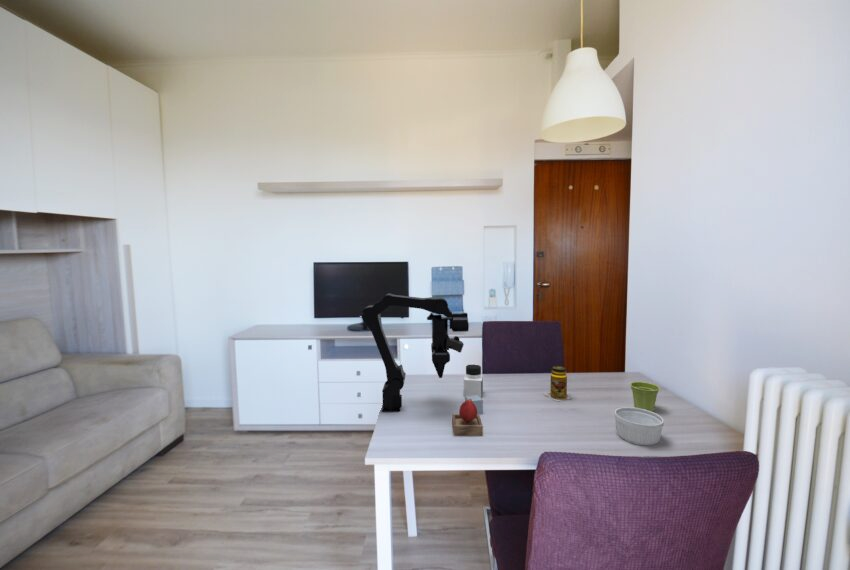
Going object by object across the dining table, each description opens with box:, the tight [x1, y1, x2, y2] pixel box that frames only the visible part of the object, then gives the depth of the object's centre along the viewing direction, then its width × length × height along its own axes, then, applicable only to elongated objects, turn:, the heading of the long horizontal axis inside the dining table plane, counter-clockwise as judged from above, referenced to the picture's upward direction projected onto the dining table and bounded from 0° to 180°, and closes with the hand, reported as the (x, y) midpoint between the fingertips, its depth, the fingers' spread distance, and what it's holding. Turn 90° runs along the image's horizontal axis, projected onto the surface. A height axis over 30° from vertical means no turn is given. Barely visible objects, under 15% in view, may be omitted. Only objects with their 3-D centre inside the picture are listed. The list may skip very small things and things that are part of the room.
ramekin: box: [614, 406, 665, 446], centre depth 115 cm, size 13×13×7 cm
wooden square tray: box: [451, 413, 484, 437], centre depth 122 cm, size 9×9×4 cm
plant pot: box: [629, 381, 661, 412], centre depth 136 cm, size 9×9×9 cm
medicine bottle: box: [463, 363, 484, 399], centre depth 152 cm, size 7×7×12 cm
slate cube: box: [464, 395, 484, 415], centre depth 136 cm, size 5×5×5 cm
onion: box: [458, 398, 477, 423], centre depth 122 cm, size 6×6×8 cm
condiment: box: [543, 365, 572, 402], centre depth 149 cm, size 7×8×12 cm
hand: (440, 373), depth 138 cm, fingers open, 9 cm apart
